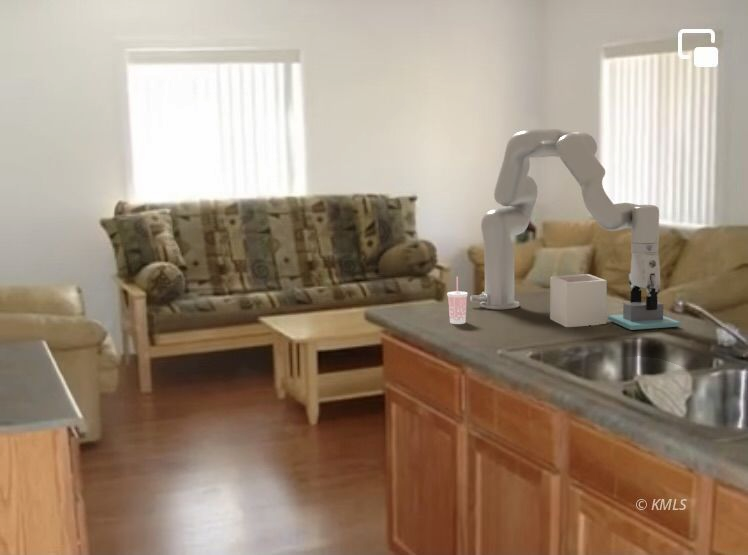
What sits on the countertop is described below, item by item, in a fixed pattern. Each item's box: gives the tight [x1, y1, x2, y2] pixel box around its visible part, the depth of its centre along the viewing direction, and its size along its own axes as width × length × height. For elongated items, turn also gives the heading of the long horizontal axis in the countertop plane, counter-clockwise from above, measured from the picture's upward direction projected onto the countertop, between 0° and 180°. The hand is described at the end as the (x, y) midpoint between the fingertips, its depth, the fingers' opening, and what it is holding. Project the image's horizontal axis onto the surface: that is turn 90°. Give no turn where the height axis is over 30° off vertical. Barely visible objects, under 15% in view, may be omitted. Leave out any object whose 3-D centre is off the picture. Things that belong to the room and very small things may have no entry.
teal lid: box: [607, 301, 681, 331], centre depth 290 cm, size 15×15×6 cm
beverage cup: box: [446, 275, 468, 325], centre depth 299 cm, size 6×6×14 cm
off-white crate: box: [549, 273, 608, 328], centre depth 296 cm, size 12×12×13 cm
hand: (643, 306), depth 289 cm, fingers open, 9 cm apart
